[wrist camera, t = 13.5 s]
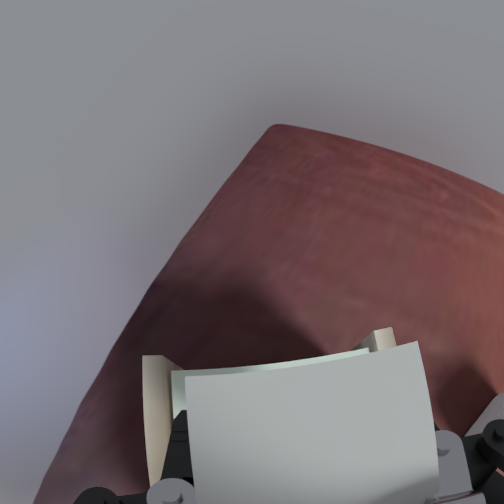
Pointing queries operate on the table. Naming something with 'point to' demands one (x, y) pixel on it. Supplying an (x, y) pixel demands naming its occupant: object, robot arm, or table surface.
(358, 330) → the table surface
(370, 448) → the smooth white block
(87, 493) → the robot arm
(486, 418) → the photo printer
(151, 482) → the storage box
